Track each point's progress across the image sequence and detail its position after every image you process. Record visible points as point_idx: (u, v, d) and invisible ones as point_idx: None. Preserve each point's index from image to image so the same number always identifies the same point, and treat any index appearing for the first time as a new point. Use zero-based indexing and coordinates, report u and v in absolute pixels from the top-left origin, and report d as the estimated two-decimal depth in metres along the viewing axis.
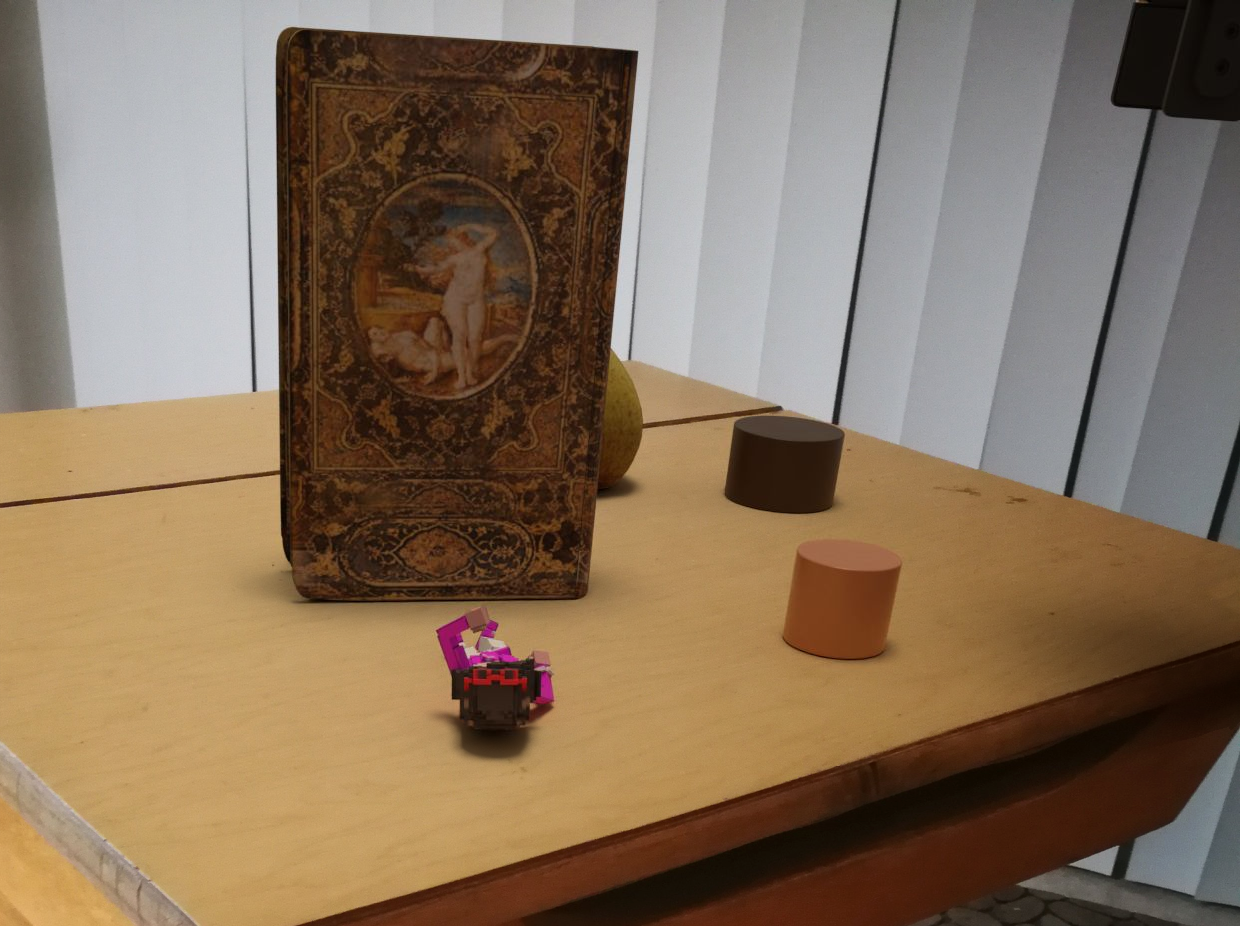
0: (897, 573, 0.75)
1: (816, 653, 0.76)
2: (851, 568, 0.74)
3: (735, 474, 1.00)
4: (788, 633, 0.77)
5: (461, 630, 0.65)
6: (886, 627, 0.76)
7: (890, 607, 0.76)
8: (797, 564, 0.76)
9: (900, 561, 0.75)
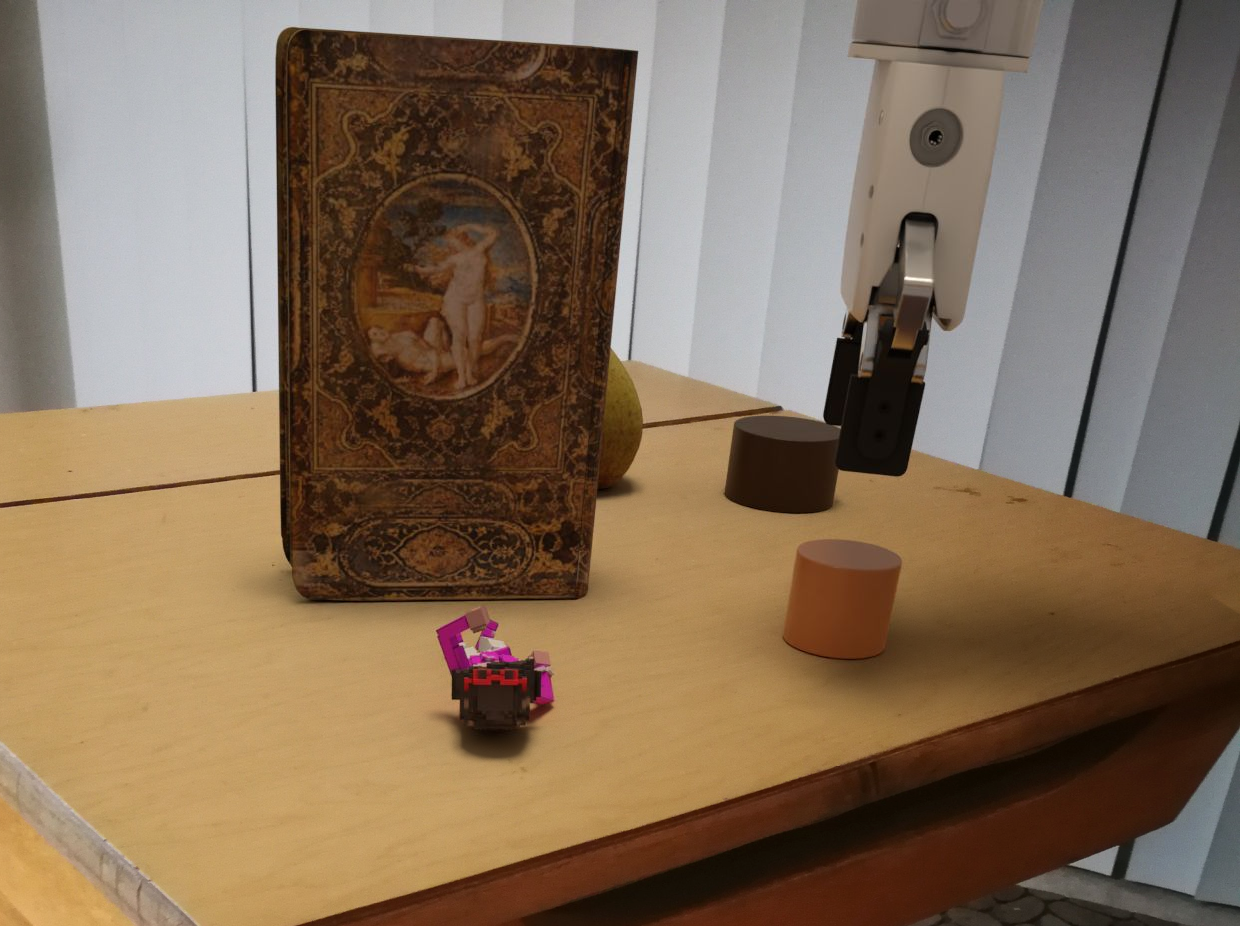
0: (897, 573, 0.75)
1: (816, 653, 0.76)
2: (851, 568, 0.74)
3: (735, 474, 1.00)
4: (788, 633, 0.77)
5: (461, 630, 0.65)
6: (886, 627, 0.76)
7: (890, 607, 0.76)
8: (797, 564, 0.76)
9: (900, 561, 0.75)
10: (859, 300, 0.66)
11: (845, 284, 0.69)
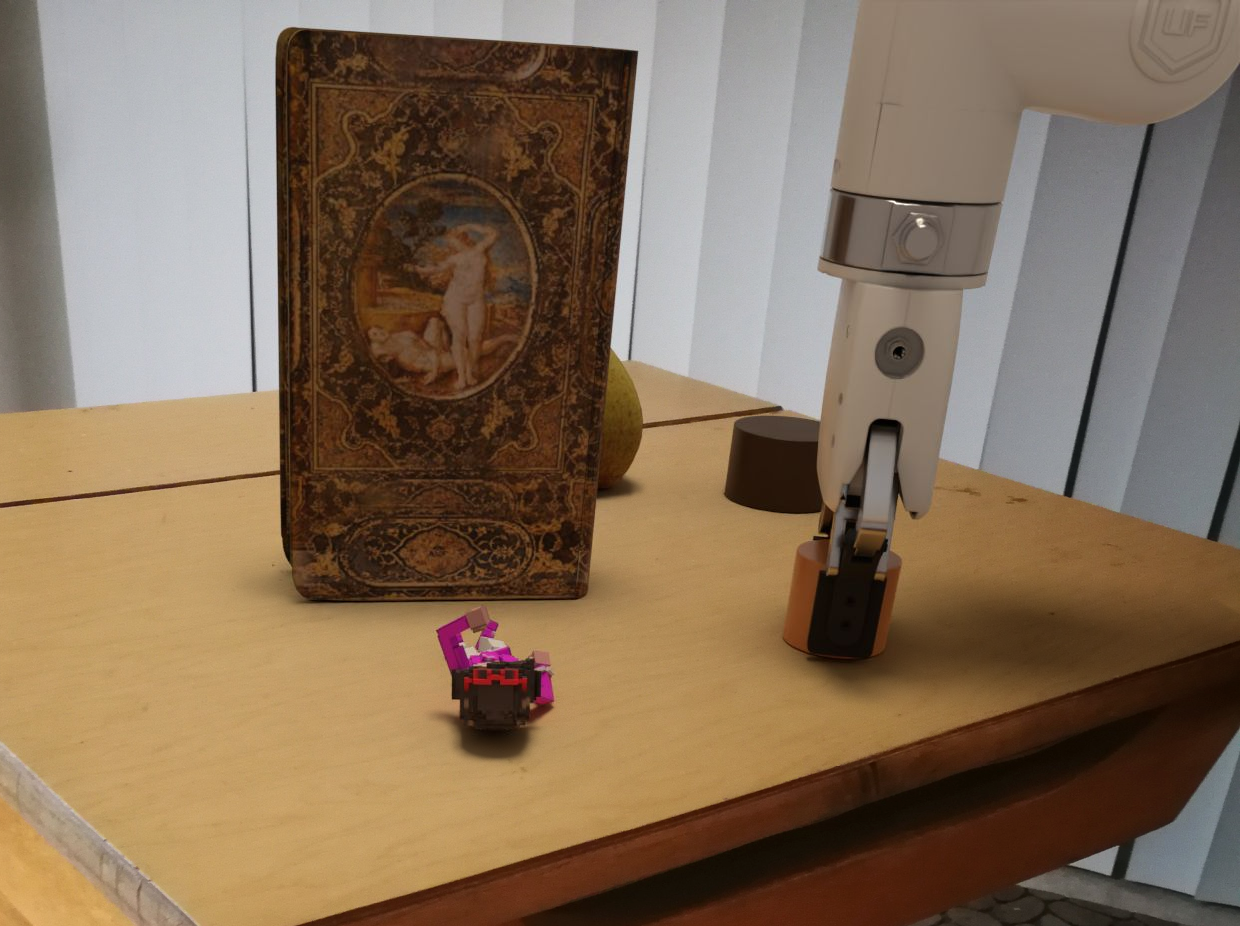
0: (897, 573, 0.75)
1: None
2: None
3: (735, 474, 1.00)
4: (788, 633, 0.77)
5: (461, 630, 0.65)
6: (886, 627, 0.76)
7: (890, 607, 0.76)
8: (797, 564, 0.76)
9: (900, 561, 0.75)
10: (831, 495, 0.70)
11: (820, 470, 0.74)
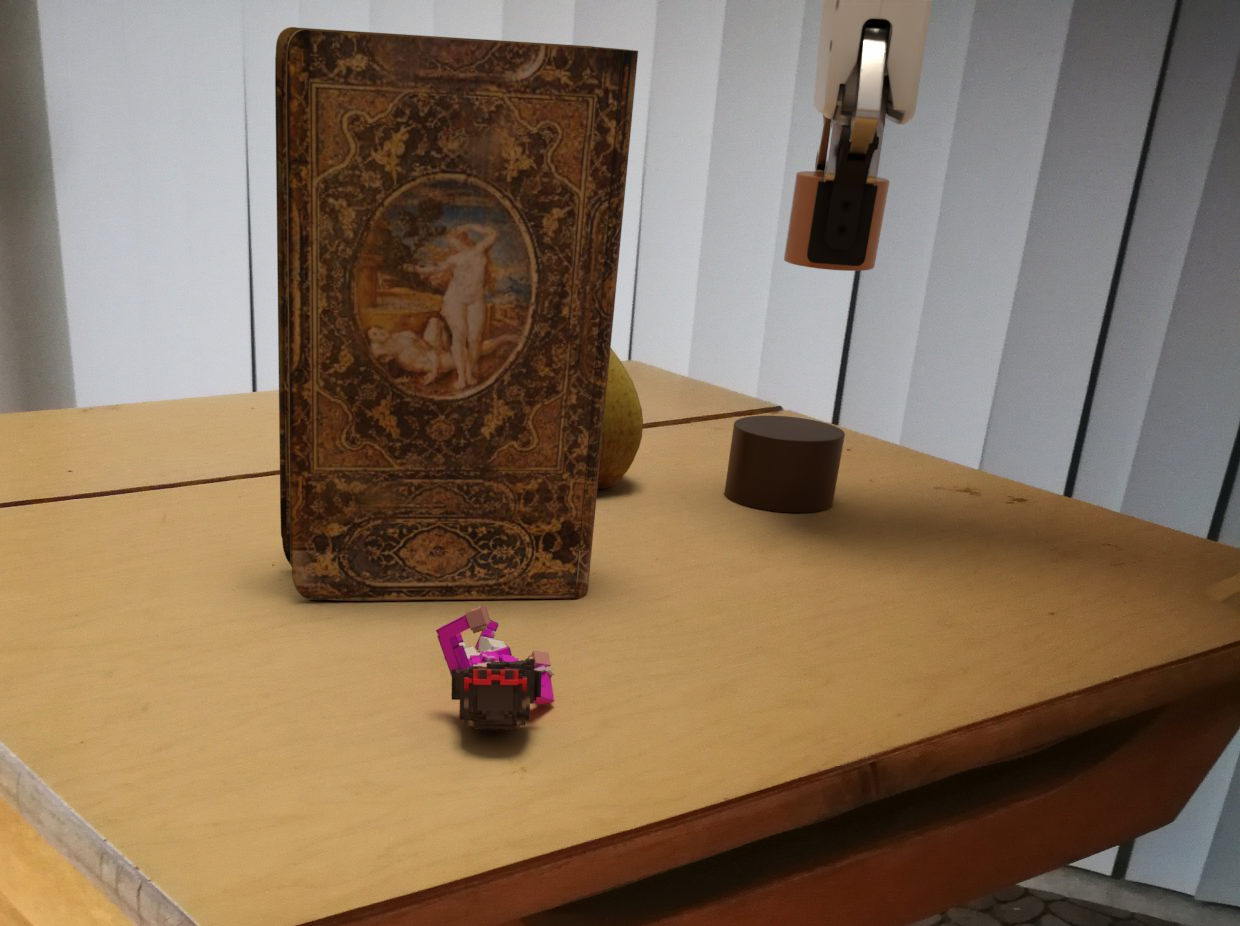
0: (885, 189, 0.85)
1: (814, 265, 0.86)
2: None
3: (735, 474, 1.00)
4: (789, 253, 0.87)
5: (461, 630, 0.65)
6: (875, 243, 0.86)
7: (879, 223, 0.86)
8: (797, 185, 0.86)
9: (887, 180, 0.85)
10: (829, 97, 0.80)
11: (818, 92, 0.84)
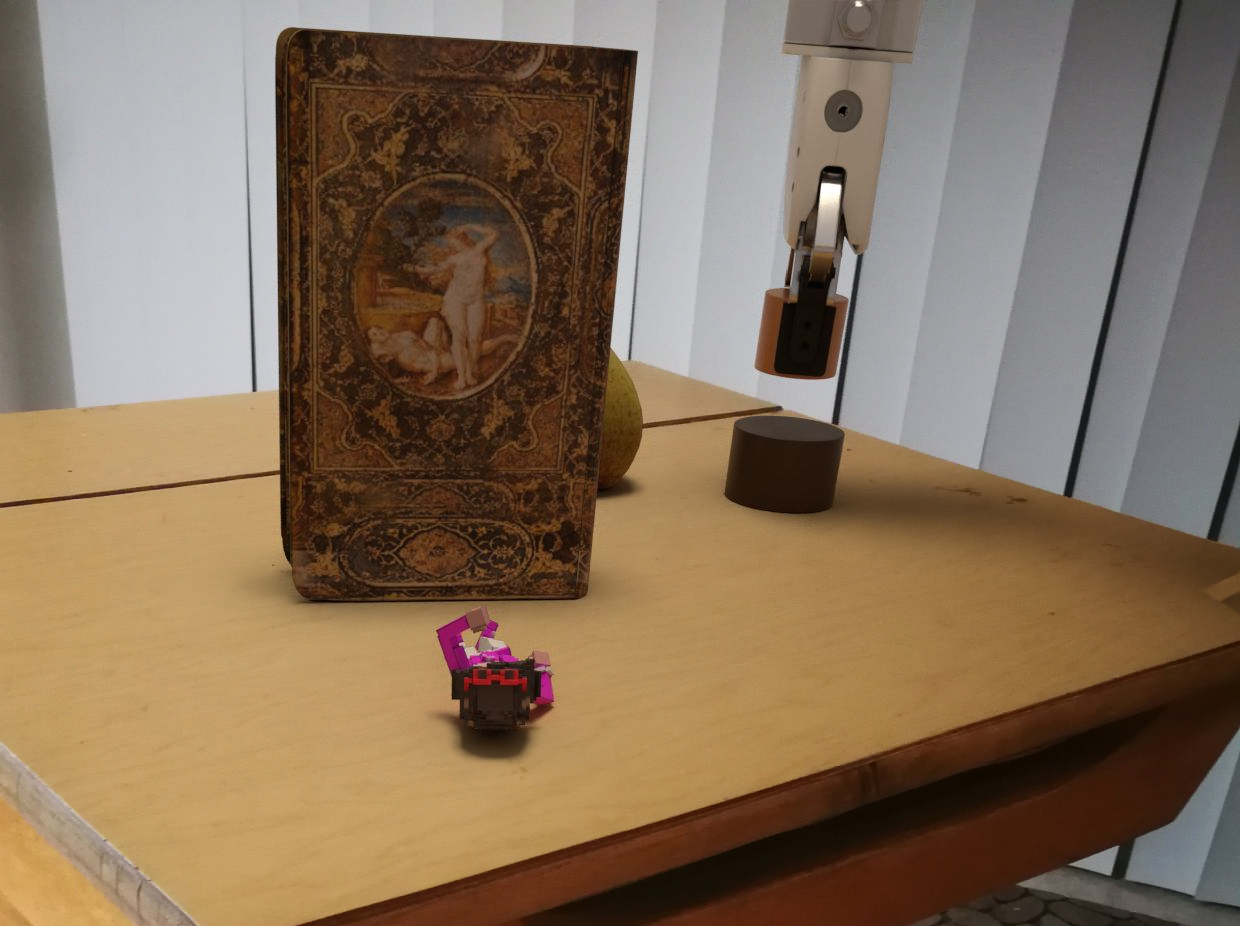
0: (844, 308, 0.94)
1: (780, 375, 0.96)
2: None
3: (735, 474, 1.00)
4: (758, 362, 0.97)
5: (461, 630, 0.65)
6: (836, 355, 0.96)
7: (839, 337, 0.95)
8: (765, 302, 0.95)
9: (847, 299, 0.95)
10: (791, 232, 0.89)
11: (784, 222, 0.93)
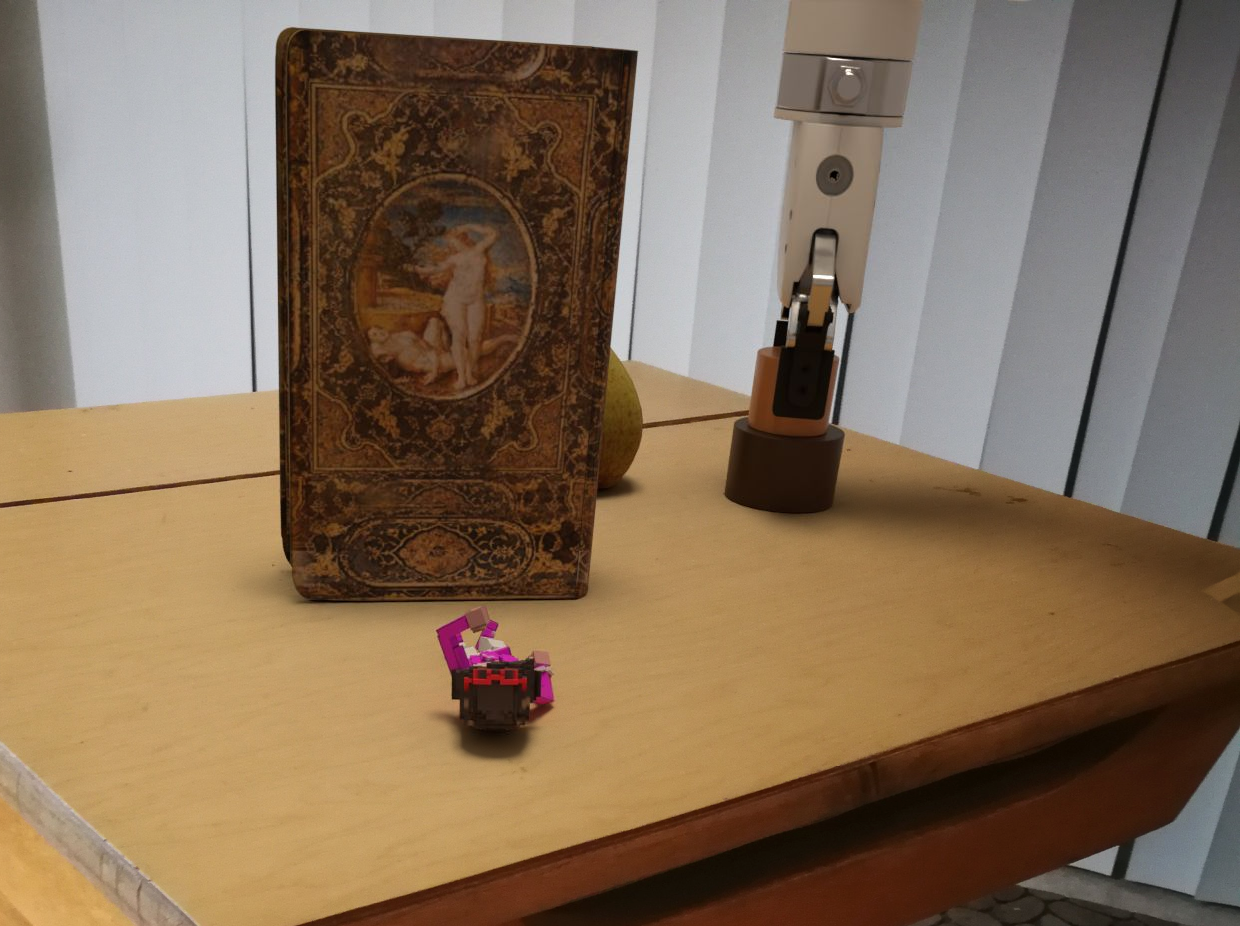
0: (835, 367, 0.96)
1: (772, 432, 0.97)
2: None
3: (735, 474, 1.00)
4: (751, 419, 0.99)
5: (461, 630, 0.65)
6: (827, 412, 0.98)
7: (830, 395, 0.97)
8: (757, 361, 0.97)
9: (838, 358, 0.96)
10: (785, 292, 0.91)
11: None
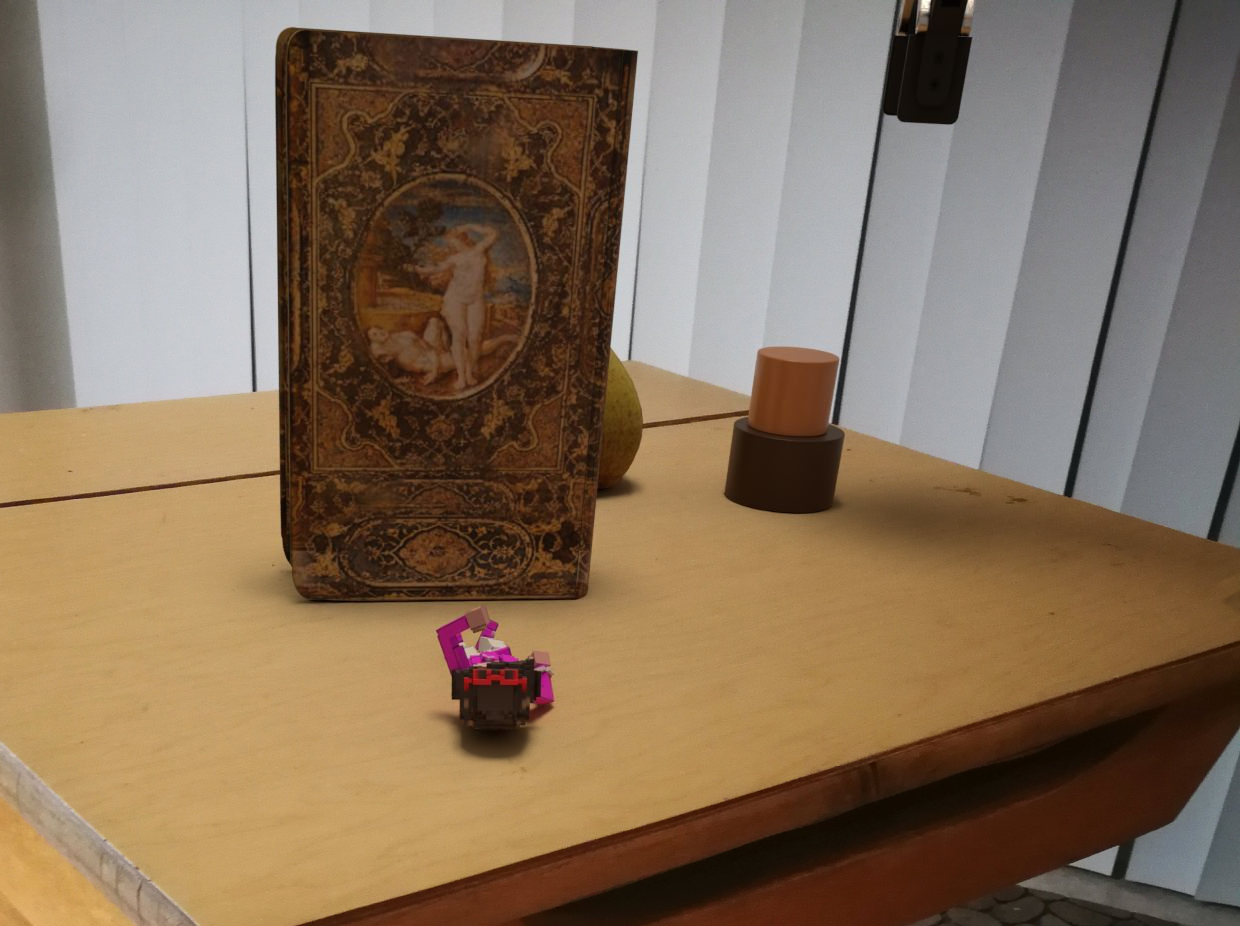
0: (835, 367, 0.96)
1: (772, 432, 0.97)
2: (798, 360, 0.95)
3: (735, 474, 1.00)
4: (751, 419, 0.99)
5: (461, 630, 0.65)
6: (827, 412, 0.98)
7: (830, 395, 0.97)
8: (757, 361, 0.97)
9: (838, 358, 0.96)
10: None
11: None
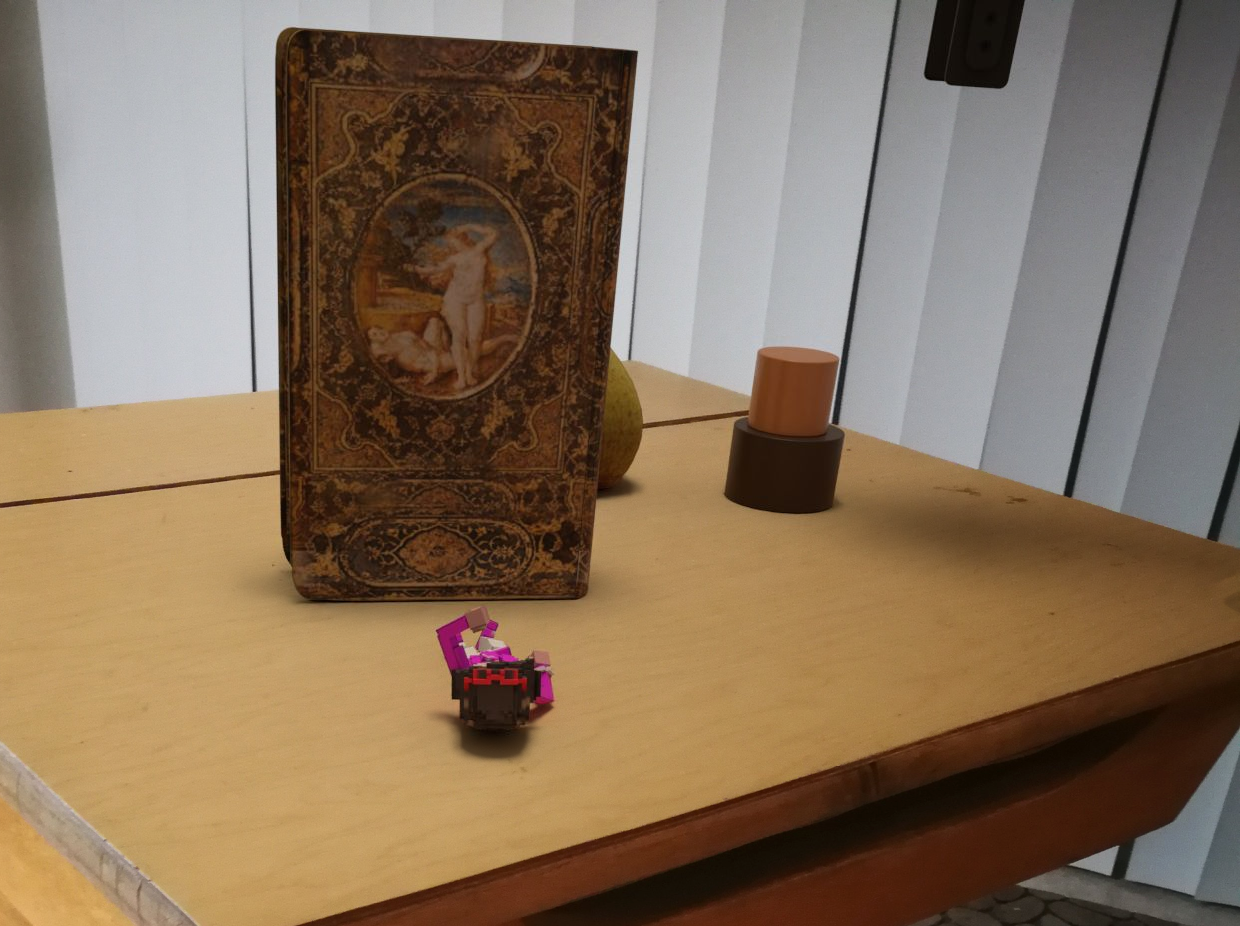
0: (835, 367, 0.96)
1: (772, 432, 0.97)
2: (798, 360, 0.95)
3: (735, 474, 1.00)
4: (751, 419, 0.99)
5: (461, 630, 0.65)
6: (827, 412, 0.98)
7: (830, 395, 0.97)
8: (757, 361, 0.97)
9: (838, 358, 0.96)
10: None
11: None
